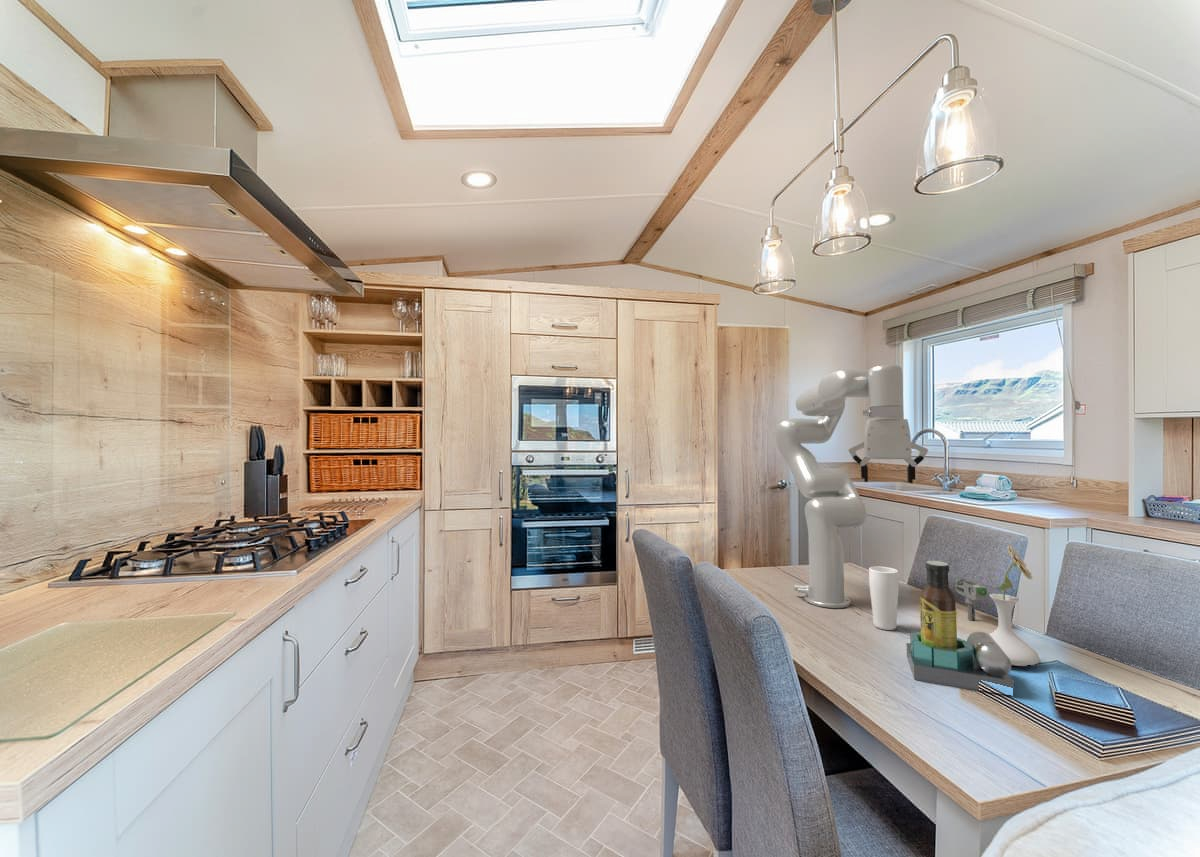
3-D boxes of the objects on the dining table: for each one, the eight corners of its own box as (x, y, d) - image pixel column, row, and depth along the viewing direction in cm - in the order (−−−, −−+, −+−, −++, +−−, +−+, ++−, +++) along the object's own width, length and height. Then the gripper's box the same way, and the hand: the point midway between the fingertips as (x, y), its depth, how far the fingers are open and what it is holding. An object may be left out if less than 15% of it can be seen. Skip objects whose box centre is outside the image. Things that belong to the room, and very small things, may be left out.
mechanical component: (965, 613, 138) (964, 577, 138) (990, 627, 128) (989, 588, 128) (954, 613, 138) (953, 577, 138) (978, 626, 128) (977, 588, 128)
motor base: (914, 679, 100) (913, 639, 100) (906, 656, 110) (906, 620, 111) (1013, 696, 93) (1012, 654, 93) (995, 670, 103) (994, 632, 104)
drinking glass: (898, 624, 130) (896, 567, 130) (901, 633, 123) (900, 573, 124) (869, 621, 132) (867, 565, 133) (871, 629, 126) (869, 571, 127)
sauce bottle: (917, 649, 107) (915, 557, 108) (951, 653, 105) (948, 559, 106) (927, 662, 101) (924, 564, 101) (962, 666, 99) (959, 566, 100)
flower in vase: (1025, 676, 101) (1021, 554, 102) (963, 655, 111) (960, 544, 112) (1054, 662, 107) (1050, 547, 108) (992, 644, 117) (989, 538, 118)
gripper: (848, 414, 124) (849, 482, 124) (929, 412, 117) (931, 484, 116) (847, 416, 131) (848, 480, 130) (924, 414, 123) (926, 482, 123)
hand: (887, 482), depth 123 cm, fingers open, 9 cm apart
